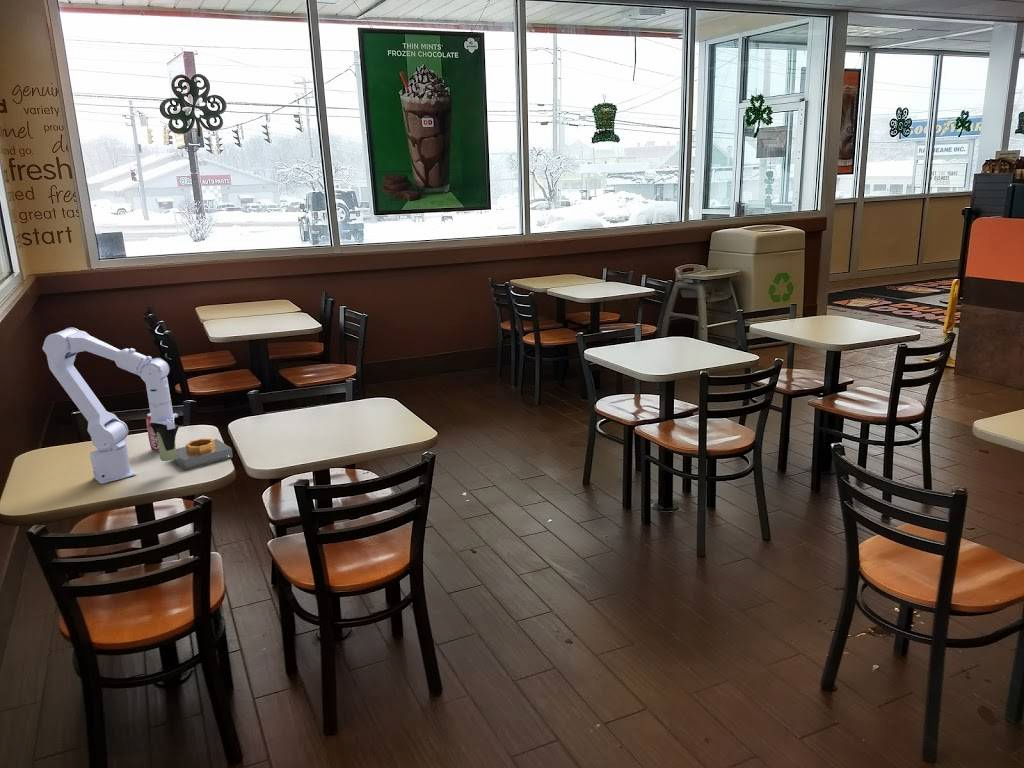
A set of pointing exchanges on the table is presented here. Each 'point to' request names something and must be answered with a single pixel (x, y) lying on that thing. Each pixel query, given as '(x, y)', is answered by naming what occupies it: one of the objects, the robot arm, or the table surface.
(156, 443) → the soda can
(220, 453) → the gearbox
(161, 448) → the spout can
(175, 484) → the table surface
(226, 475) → the table surface
